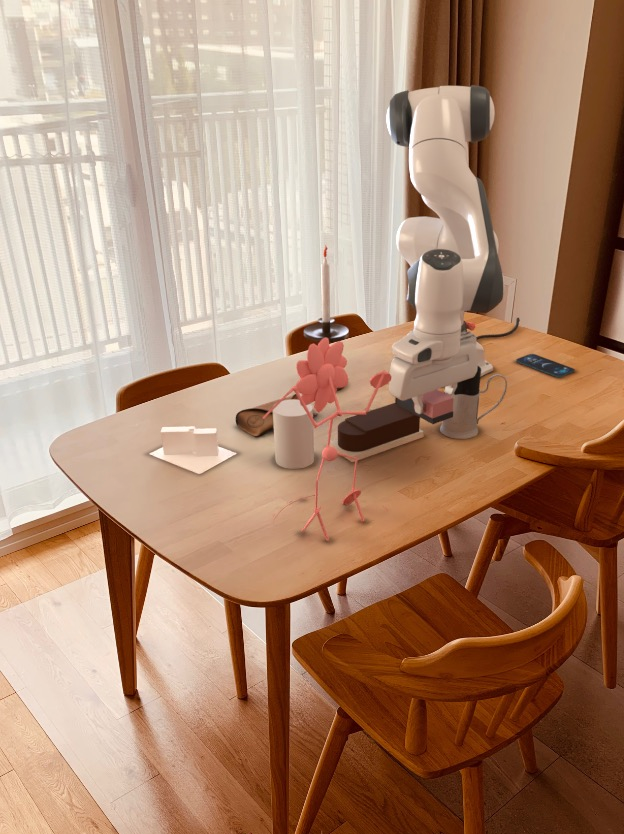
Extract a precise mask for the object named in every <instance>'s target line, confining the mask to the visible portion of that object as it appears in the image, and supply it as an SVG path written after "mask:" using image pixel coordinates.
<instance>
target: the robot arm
mask: <svg viewBox="0 0 624 834" xmlns="http://www.w3.org/2000/svg"><path fill="white" fill-rule="evenodd" d="M386 111H387V112H386V125H387V126H386V127H387V130H388V133H389V135H390V138H391V140H392V142H394V143H395V144H396V145H397V146H400V147H405V148H409V149H408V168H409V174H410V175H409V176H410V181H411V183H412V185H413V187H414V189H415V190H416V191H417V193H419V195H421V199H422V201H423V202H424V204H425V205H426V206H427V207H428V208H429V209H430V210H432V211H433V212H434V213H435V214H436V216H438V217H432V216H415V217H407V218H405V220H403V221H402V222H401V224H400V225H399V228H398V230H397V232H396V239H395V243H396V248H397V251H398V253H399V254H400V255H399V256H401V257H402V258H403V259H404V260H405V261H406V262H407V264H409V266H410V267H409V268H408V269H407V271H406V273H407V280H408V284H407V285H408V286H407V287H408V289H407V295H406V301H407V302H408V303H409V304H410V306H411V307H412V308H413V309H415V311H416V315H415V319H414V322H413V329H411V330H410V331H409V332H408V333H407V334H405V336H403V337H401V338H400V339H399V340H397V341H395V342H394V343H393V344H392V345H391V354H392V355H393V356H394V358H393V359H392V361H391V363H390V367H389V373H390V375H391V377H392V378H391V381H390V382H389V383H388V391H389V393H390V394H391V396H392V397H394V398H395V397H396V398H398V399H400V400H402V401H403V400H407V399H410V398H412V400H413V402H414V403H415V412H416V413H418V414H422V413H424V412H426V404H424V403H422V401H421V399H422V398H423V394H425V393H428V392H431V391H434V390H437V389H438V390H440V389H442V388H444V393H445V394H447V395H449V396H451V397H452V396H453V394H454V392H455V390H456V388H457V383H458V382H461V381H464V380H467V379H470V378H473V377H474V376H475V374H476V373H477V367H478V366H479V367H480V368H481V377H483V376H485V375H487V374H489V373H491V372H493V371H494V366H493V364H492V363H490V362H489V361H488V360H486V354H485V353H486V352H485V349H484V347H483V346H482V344H481V343H480V342H478V340H480V339H491V338H492V339H493V338H504V337H507V336H509V335H512V334H513V333H515V331H517V329H518V328H519V325H520V321H521V320H520V317H516V320H515V326H514V327H513V328H512V329H511V330H509V331H507V332H504V333H499V334H498V333H496V334H481V335H478V336H476V334H475V333H473V332H472V331H475V329H476V327H477V324H476V323H475V322H472V321H470V320H468V321H465V312H470V313H478V314H479V313H480V314H488V313H490V312H491V311H492V310H494V309H495V308H496V307H498V306H499V304H501V302H502V301H503V299H504V294H505V276H504V273H503V269H502V265H501V262H500V258H499V250H500V244H499V239H498V235H497V234H496V232H495V230H494V226H493V221H492V216H491V211H490V206H489V200H488V197H487V196H488V195H487V193H486V189H485V186H484V183H483V181H482V180H481V178H479V177H477V176H475V174H474V173H473V171H472V170H471V169H470V167H469V166H470V165H469V145H468V142H470V143H471V144H474V143H477V142H480V141H483V140H485V139H486V138H487V137H488V136H489V135H490V133H491V129H492V128H493V125H494V122H495V113H496V111H495V105H494V101H493V98H492V97H491V92H490V91H489V90H488V89H487V88H486V87H485V86H481V85H475V84H471V85H470V86H465V85H439V86H436V87H427V88H422V89H415V90H411V91H409V90H403V91H399V92H398V93H395V94H393V96H392V97H391V99H390V100H389V105H388V108H387V110H386ZM468 330H469V331H468ZM445 387H446V389H445Z"/></svg>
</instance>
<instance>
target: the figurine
mask: <svg viewBox="0 0 624 834" xmlns="http://www.w3.org/2000/svg"><path fill="white" fill-rule="evenodd" d="M344 346H345V344H344V342H343V341H337V342H333V344H331V345H330V342H329V339H328V338H326V337H325V338H323V339H322V340H321V341H320V342H318V343H317V344H316V343H311V344H309V346H308V349H307V353H306V357H307V358H306V359H305V360H302V359H301V360H298V361H297V362H296V368H295V369H296V372H297V373H296V374H297V375H298V376H299V378H300V379H299V380H298V381H297V382H296V383H295V385H293V386H291V388H290V389H289V390H288V392H286V393H285V394H284V395H283V396H282V397H281V398H279V399H280V400H279V399H278V400H279V401H278V402H277V403H276V404H275V405H274V406H273V407H272V408H271V409H270V410H269V411H268V412H267V413H266V414H265V415H264V416H263V419H264V418H265V417H266V416H267V415H268V414H269V413H270V412H271V411H272V410H273V409H274V408H275V407H276V406H277V405H278V404H280V403H281V402H282V401H283V400H284V399H285V398H286V397H289V395H290V394H292V392H294V394H296V395H297V397H298V399H299V401H300V404H301V406H303V408H304V410H305V411H306V413H307V415H308V417H309V419H310V420H311V422H312V424H313V429H317V428H319V427H321V426H322V425H325V423H327V422H328V421H329V425H328V435H327V444H326V446H325V447H324V448H323V449H322V451H321V456H322V459H321V461H320V462H321V463H320V466H319V469H318V473H317V475H316V476H317V477H316V480H315V494H313V495H309V496H305V497H302V498H299V499H297V500H295V501H293V500H291V501H289V502H286V506H285V507H283V508H281V509H280V511H278V513H277V514H276V516H275V515H273V516H272V518H274V519H273V522H272V524H274V522H275V521H276V518H277V516H279V514H281V511H283V510H284V509H286V508H287V507H288V506H290V505H292V504H294V503H296V502H298V501H301V500H303V499H307V498H310V497H315V500H314V510H313V512H314V513H313V514H312V515H311V517H310V518H309V520H308V521H307V522H306V524H305V525H304V527H303V528H302V529H301V530H300V532H301V533H304V531H306V530H307V528H308V527H309V526H310V524H311V523H312V522H313V521H314V520H315V518H316V516H317V519H318V521H319V524H320V527H321V530H322V533H323V536H324V538H325V541H326V542H328V541H329V540H330V538H329V536H328V533H327V530H326V527H325V524H324V522H323V518H322V516H321V513H320V510H321V509H322V506H319V507H318V496H319V494H318V493H319V491H318V490H319V479H320V476H321V473H322V469H323V465H324V462H325V461H327V462H333V461H335V460H336V459H337V457H338V456H340V457H343V456H344V457H343V458H345V457H348V458H352V459H356V460H355V462H354V471H353V479H352V489H351V490H350V492H349V493H347V494H346V496H344V498H343V499H342V501H341V503H342V505H343V506H350V505H351V504H352V503H355V506H356V509H357V512H358V514H359V518H360V521H361V523H363V522H365V518H364V515H363V512H362V509H361V507H360V506H361V505H360V503H359V500H358V498H359V496H361V494H362V491H361V490H360V489H359V488H357V489H355V487H356V478H357V470H358V469H357V468H358V461H359V460H358V459H357V458H356V457H352V456H348V455H344V454H341V453H337V450H336V449H335V448H334V447H332V446H329V445H330V441H331V436H332V430H333V423H334V419H336V418H338V417H342V416H343V415H348V416H349V415H352V416H355V415H366V412H368V411H370V408H371V406H372V404H373V402H374V400H375V397H376V396H377V393H378V391H379V390H380V388H383V387H385V386H386V385H389V382H390V381H391V378H392V377H391V375H390V372H388V371H386V370H382V371H381V372H378V373H375V374H374V375H373V376H371V377H370V379H369V384H370V386H371V387H373V388H374V391H373V393H372V394H371V398H370V399H369V401H368V404H367V406H366V408H365V410H364V411H355V410H354V411H351V410H349V411H344V410H342V409H341V407H340V404H339V400H338V396H337V392H338V391H337V387H338V388H341V387H344V388H345V387H347V386H348V385H349V375H348V373H347V371H346V370H345V367H346V366H347V364H348V360H347V358H346V357H345V356H344V355H343V352H344ZM336 391H337V392H336ZM312 403H314V404H313V405H314V406H313V409H314V410H315V412H317V414H318V413H320V412H322V411H323V409H325V407H326V406H327V404H333V403H334V404H335V408H336V411H335V412H334V413H332V414H330V415H328V416H327V417H326V418H324V419H322V420H320V421H319V422H318V423H316V421H315V419H314V417H312V415H311V414H310V412H309V410H308V408H307V406H306V405H308V404H312ZM382 507H383V508H384V509H386V510H387V507H385V506H382ZM274 516H275V517H274Z"/></svg>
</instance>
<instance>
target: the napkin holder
mask: <svg viewBox="0 0 624 834" xmlns="http://www.w3.org/2000/svg"><path fill="white" fill-rule="evenodd" d="M160 436H161V437H160V438H161V444H162V447H160V448H158V449H156V450H154V451H152V452H150V453H149V455H150V456H152V457H155V458H158V459H159V460H162V461H164V462H167V463H170V464H173V465H175V466H178V467H179V468H182V469H184V470H187V471H190V472H193V473H195V474H197V475H201V474H203V473H205V472H206V471H208V470H210V469H212V468H214V467H215V466H217V465H220V464H221V463H222V462H224V461H226V460H228V459H229V458H231V457H234V456H235V455H237V452H234V451H232V450H229V449H226V448H224V447H221V446H219V437H218V429H217V428H216V427H211V428H210V427H208V428H196V426H195V425H193V426H162V427H161V430H160Z"/></svg>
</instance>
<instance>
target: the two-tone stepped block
mask: <svg viewBox="0 0 624 834" xmlns="http://www.w3.org/2000/svg"><path fill="white" fill-rule="evenodd" d="M453 400H454V398H453V397H451V396H449V395H447V394H445V393H444V392H443V391H441V390H440V389H437V390H434V391H431V392H428V393H425V394H423V398H422V399H421V401H422V403H424V404H426V412H424V413H422V414H418V413H416V412H415V403H414V402H413V400H412V398H410V399H407V400H403V401H402V400H400V399H398V400H397V405H398V406H400V407H402V408H404V409H406V410H407V411H409V412H411V413H413V414H415V415H416V416H418V417H420V419H422V420H424V421H425V422H427V423H429V424H431V425H436V424H439V423H442V421H444V420H446V419H449V418H452V417H453Z"/></svg>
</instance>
